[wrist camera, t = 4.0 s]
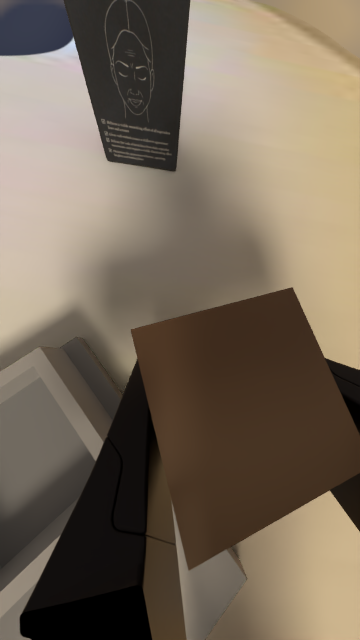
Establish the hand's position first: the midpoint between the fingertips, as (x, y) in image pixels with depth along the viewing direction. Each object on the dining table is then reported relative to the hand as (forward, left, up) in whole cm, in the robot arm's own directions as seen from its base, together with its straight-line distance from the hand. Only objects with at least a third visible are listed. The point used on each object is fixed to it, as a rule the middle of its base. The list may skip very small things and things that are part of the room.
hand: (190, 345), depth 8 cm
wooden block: (-1, +1, -7) cm, 7 cm away
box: (+21, -11, -7) cm, 25 cm away
